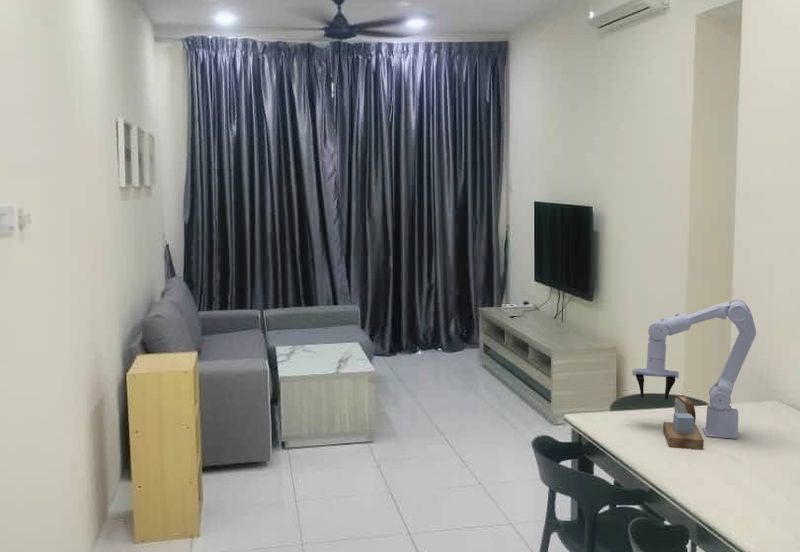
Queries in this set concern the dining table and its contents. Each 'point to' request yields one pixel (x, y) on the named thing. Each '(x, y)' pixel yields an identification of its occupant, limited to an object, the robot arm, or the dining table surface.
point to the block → (683, 423)
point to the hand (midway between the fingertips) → (654, 397)
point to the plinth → (682, 437)
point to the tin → (684, 406)
